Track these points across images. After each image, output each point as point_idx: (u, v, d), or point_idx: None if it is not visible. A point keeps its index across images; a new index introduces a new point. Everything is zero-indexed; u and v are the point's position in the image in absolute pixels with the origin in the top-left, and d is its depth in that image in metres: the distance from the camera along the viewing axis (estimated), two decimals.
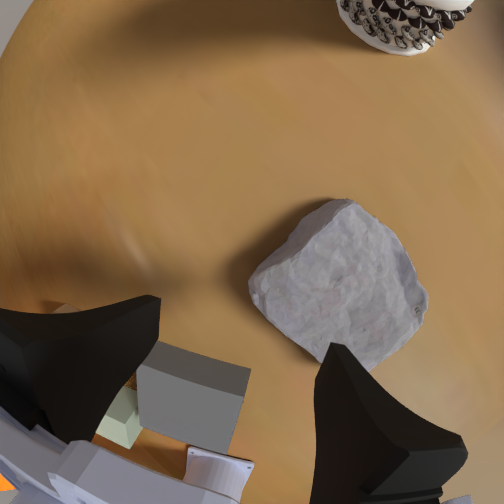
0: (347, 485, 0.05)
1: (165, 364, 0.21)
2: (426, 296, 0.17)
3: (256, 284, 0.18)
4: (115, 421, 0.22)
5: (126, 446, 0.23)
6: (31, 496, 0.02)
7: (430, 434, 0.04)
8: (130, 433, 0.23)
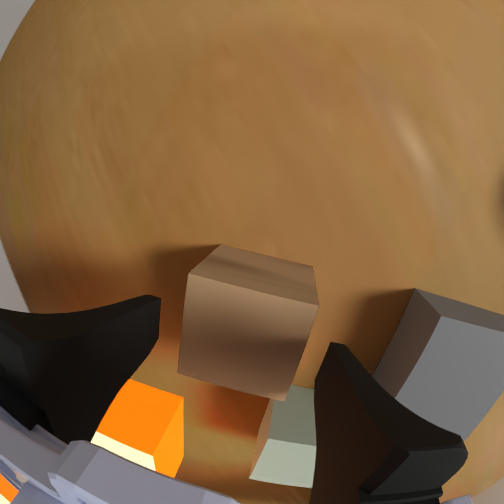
0: (347, 485, 0.05)
1: (463, 315, 0.12)
2: None
3: None
4: None
5: None
6: (31, 495, 0.02)
7: (429, 433, 0.04)
8: None
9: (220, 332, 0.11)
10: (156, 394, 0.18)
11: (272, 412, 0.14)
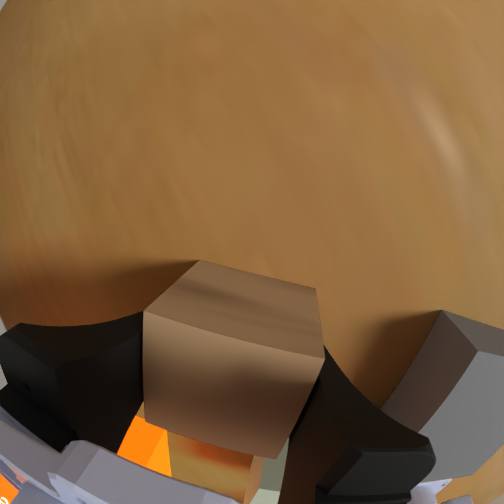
0: (307, 483, 0.05)
1: (496, 345, 0.08)
2: None
3: None
4: None
5: None
6: (31, 495, 0.02)
7: (393, 434, 0.04)
8: None
9: (191, 385, 0.08)
10: (136, 423, 0.15)
11: None
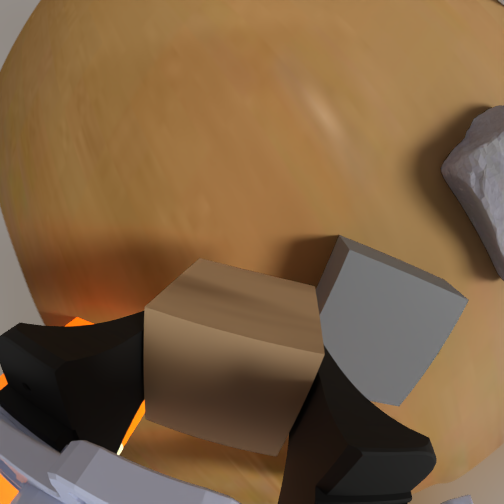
0: (307, 483, 0.05)
1: (381, 258, 0.15)
2: None
3: (472, 162, 0.12)
4: None
5: None
6: (31, 496, 0.02)
7: (393, 434, 0.04)
8: None
9: (192, 381, 0.08)
10: None
11: None
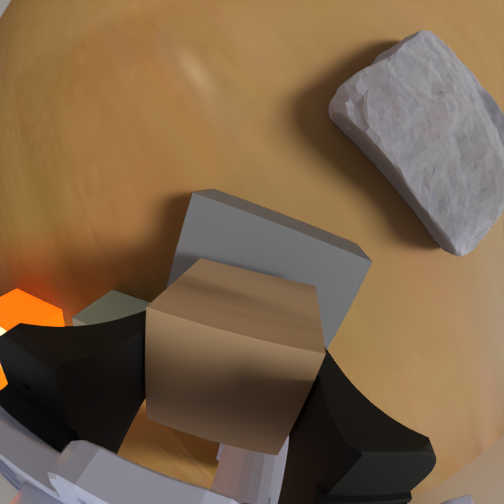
0: (307, 483, 0.05)
1: (241, 206, 0.14)
2: None
3: (348, 89, 0.11)
4: None
5: None
6: (31, 495, 0.02)
7: (393, 434, 0.04)
8: None
9: (193, 381, 0.08)
10: (44, 305, 0.21)
11: (91, 305, 0.17)
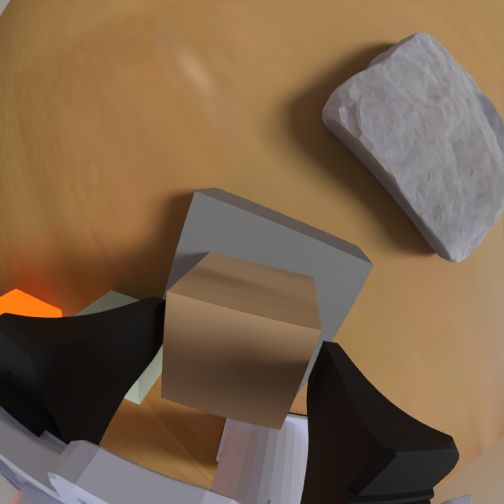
0: (335, 485, 0.05)
1: (243, 205, 0.14)
2: None
3: (341, 95, 0.11)
4: None
5: (134, 398, 0.16)
6: (31, 495, 0.02)
7: (419, 434, 0.04)
8: (143, 372, 0.16)
9: (206, 357, 0.09)
10: (43, 306, 0.21)
11: (90, 305, 0.17)
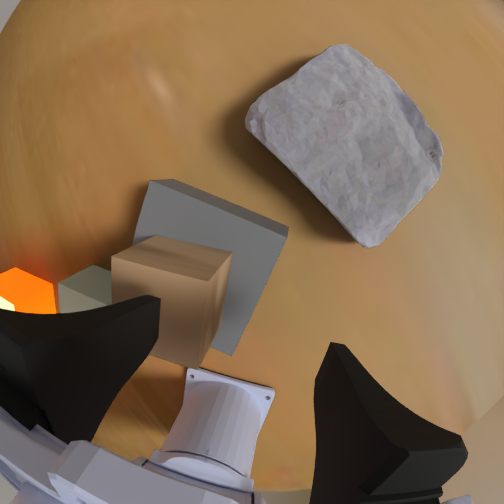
0: (347, 485, 0.05)
1: (187, 191, 0.18)
2: (439, 140, 0.14)
3: (253, 110, 0.15)
4: (93, 303, 0.18)
5: None
6: (31, 495, 0.02)
7: (429, 433, 0.04)
8: None
9: None
10: (38, 280, 0.24)
11: (74, 275, 0.20)
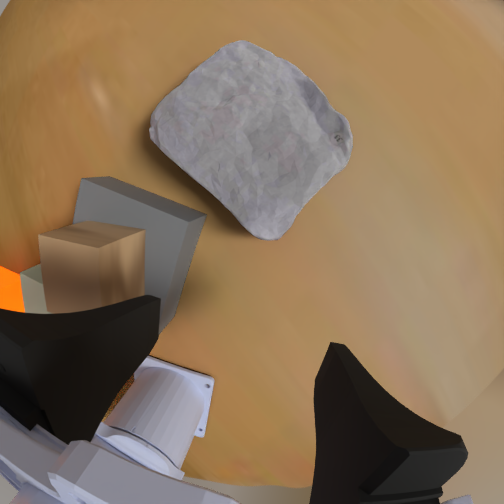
0: (347, 485, 0.05)
1: (112, 186, 0.18)
2: (345, 121, 0.15)
3: (152, 118, 0.16)
4: None
5: None
6: (31, 495, 0.02)
7: (429, 433, 0.04)
8: None
9: (57, 274, 0.14)
10: (12, 274, 0.25)
11: (35, 266, 0.21)
